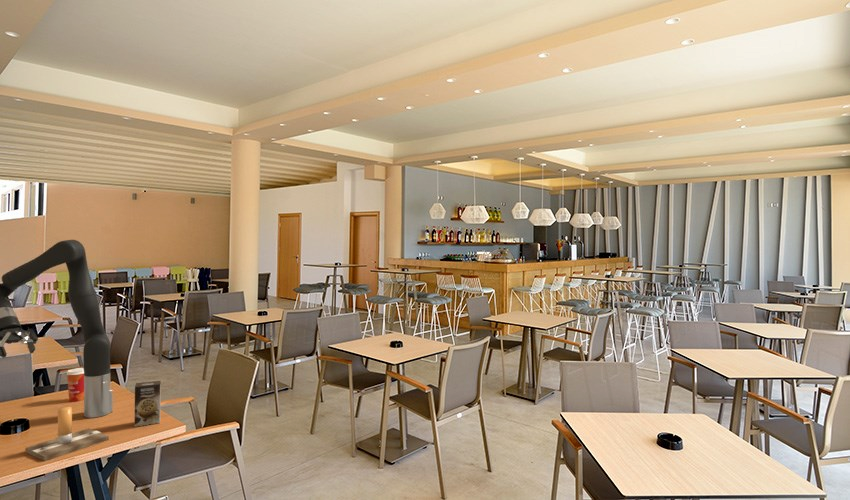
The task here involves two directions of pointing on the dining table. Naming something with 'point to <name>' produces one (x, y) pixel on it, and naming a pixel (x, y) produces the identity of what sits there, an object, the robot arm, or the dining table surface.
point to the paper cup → (76, 384)
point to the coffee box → (147, 403)
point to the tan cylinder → (64, 425)
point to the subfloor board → (78, 442)
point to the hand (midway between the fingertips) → (19, 354)
